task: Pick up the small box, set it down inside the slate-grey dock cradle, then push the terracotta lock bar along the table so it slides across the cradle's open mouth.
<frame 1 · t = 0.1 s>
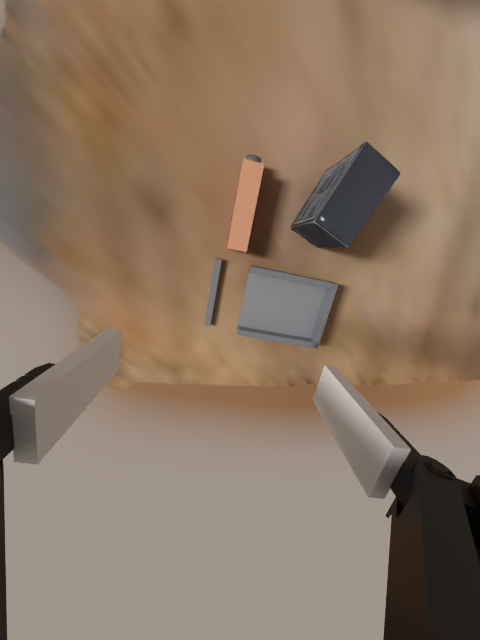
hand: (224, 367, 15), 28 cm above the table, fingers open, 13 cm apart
small box: (322, 210, 39), on the table
dock: (280, 305, 43), on the table
lock bar: (244, 206, 35), point 2 cm above the table, slide at 0.0 cm
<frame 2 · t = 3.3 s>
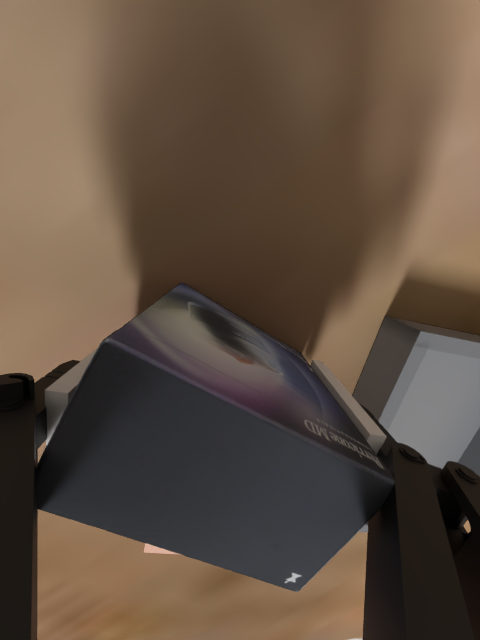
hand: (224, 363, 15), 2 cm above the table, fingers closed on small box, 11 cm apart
small box: (225, 350, 17), on the table, touching gripper
dock: (411, 416, 20), on the table
lock bar: (223, 513, 19), point 2 cm above the table, slide at 0.0 cm
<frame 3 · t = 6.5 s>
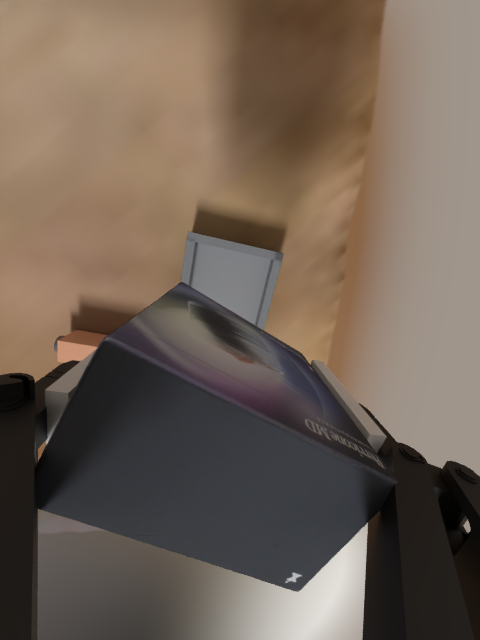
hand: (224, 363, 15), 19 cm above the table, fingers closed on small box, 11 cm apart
small box: (225, 350, 17), point 17 cm above the table, touching gripper
dock: (224, 299, 34), on the table
lock bar: (109, 351, 32), point 2 cm above the table, slide at 0.0 cm
when the fingers open (5 cm above the table, at t = 9.6 s): small box stays where it is, resting on dock.
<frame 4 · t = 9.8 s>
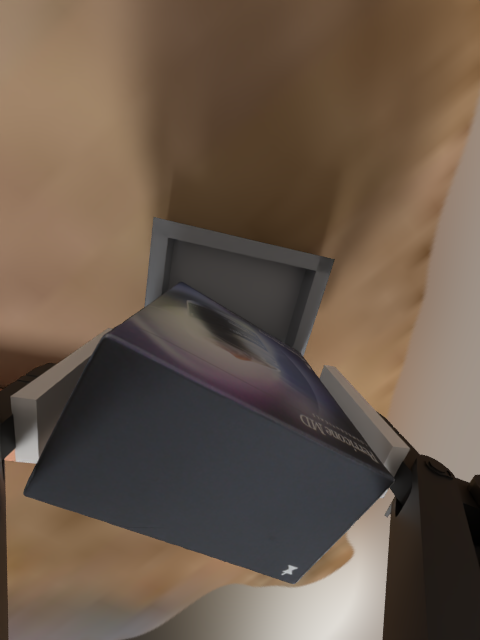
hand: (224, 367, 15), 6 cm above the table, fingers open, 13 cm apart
small box: (224, 349, 17), point 3 cm above the table, touching dock
dock: (224, 334, 20), on the table
lock bar: (28, 425, 19), point 2 cm above the table, slide at 0.0 cm
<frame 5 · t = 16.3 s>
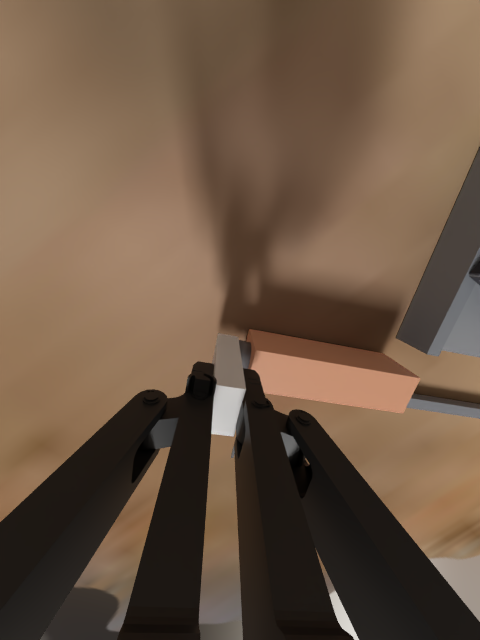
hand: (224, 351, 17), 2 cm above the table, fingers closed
lock bar: (317, 368, 18), point 2 cm above the table, slide at 1.2 cm, touching gripper
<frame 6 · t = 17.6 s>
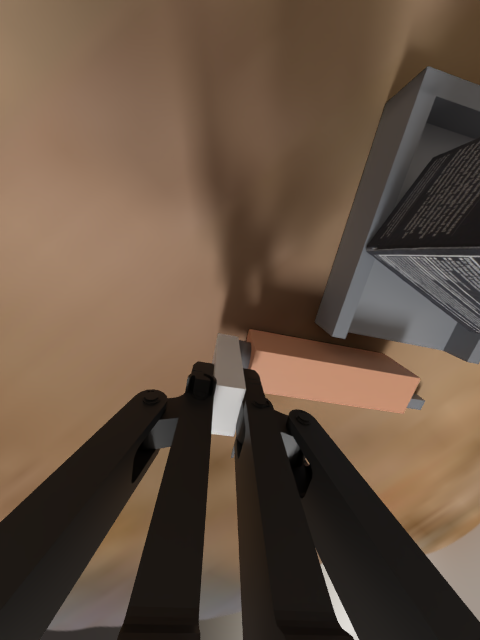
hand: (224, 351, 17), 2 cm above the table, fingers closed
small box: (450, 251, 15), point 3 cm above the table, touching dock
dock: (414, 251, 18), on the table
lock bar: (317, 368, 18), point 2 cm above the table, slide at 8.8 cm, touching gripper
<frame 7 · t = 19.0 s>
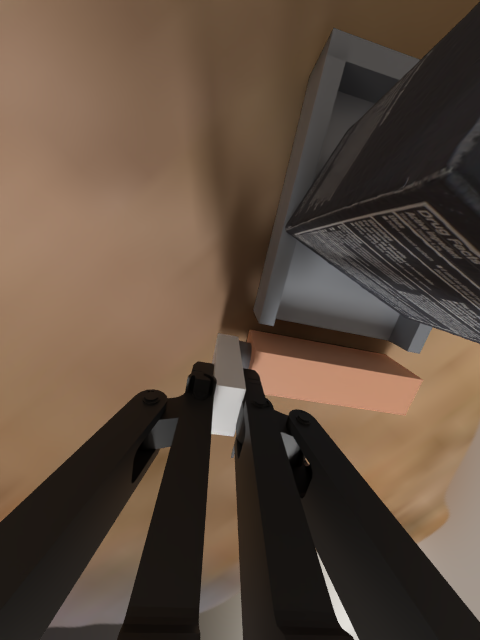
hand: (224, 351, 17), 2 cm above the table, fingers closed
small box: (379, 232, 14), point 3 cm above the table, touching dock
dock: (354, 235, 17), on the table
lock bar: (318, 369, 18), point 2 cm above the table, slide at 14.0 cm, touching gripper
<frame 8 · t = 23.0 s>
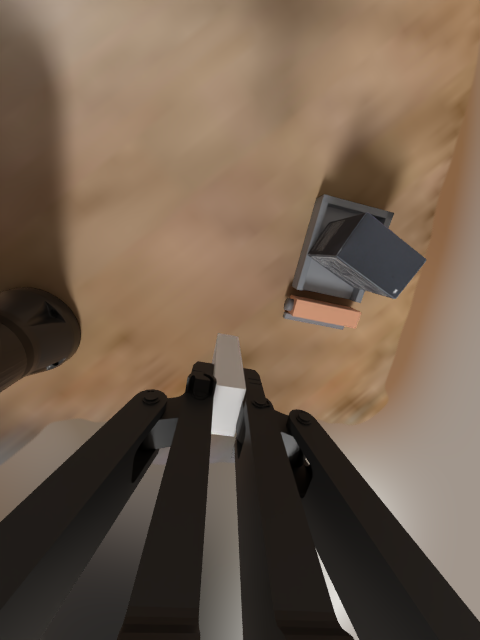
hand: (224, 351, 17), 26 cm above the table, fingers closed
small box: (341, 255, 39), point 3 cm above the table, touching dock
dock: (334, 255, 41), on the table
lock bar: (320, 310, 42), point 2 cm above the table, slide at 14.2 cm
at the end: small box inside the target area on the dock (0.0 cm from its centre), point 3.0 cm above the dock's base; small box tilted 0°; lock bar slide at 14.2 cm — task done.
